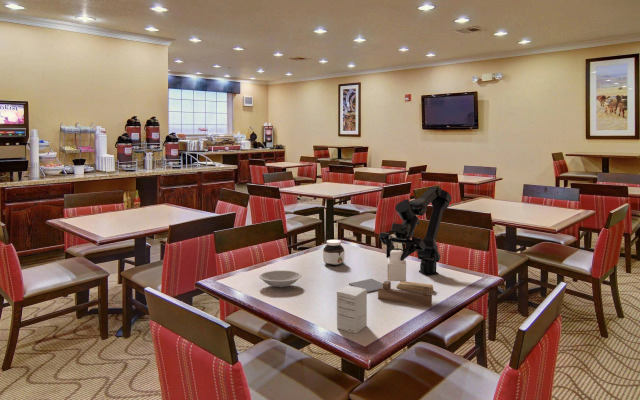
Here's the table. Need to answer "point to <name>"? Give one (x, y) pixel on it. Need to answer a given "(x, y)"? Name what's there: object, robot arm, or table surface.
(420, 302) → the walnut rack
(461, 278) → the table surface
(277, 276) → the dish
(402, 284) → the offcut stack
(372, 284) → the rubber mat
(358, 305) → the supplement box
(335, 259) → the spread jar
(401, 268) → the medicine bottle
